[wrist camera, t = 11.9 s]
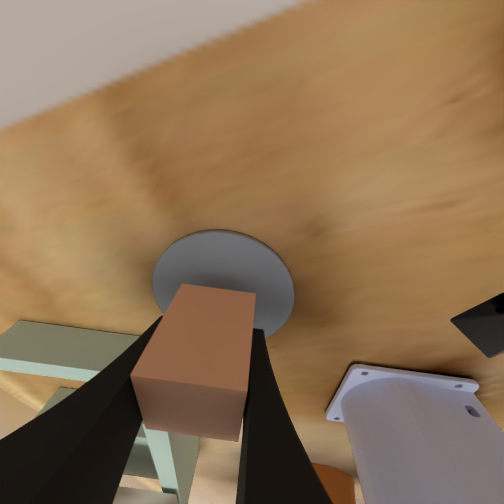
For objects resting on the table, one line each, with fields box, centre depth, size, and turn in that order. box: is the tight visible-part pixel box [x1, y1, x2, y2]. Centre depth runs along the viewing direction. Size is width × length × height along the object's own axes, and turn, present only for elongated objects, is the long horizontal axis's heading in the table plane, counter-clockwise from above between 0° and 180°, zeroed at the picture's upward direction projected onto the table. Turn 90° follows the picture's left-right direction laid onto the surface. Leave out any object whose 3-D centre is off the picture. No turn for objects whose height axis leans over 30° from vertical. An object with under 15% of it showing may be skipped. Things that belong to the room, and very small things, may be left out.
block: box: [130, 284, 256, 442], centre depth 11 cm, size 4×4×5 cm
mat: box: [152, 230, 294, 338], centre depth 14 cm, size 9×9×1 cm
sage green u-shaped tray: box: [0, 320, 199, 504], centre depth 20 cm, size 14×20×6 cm
